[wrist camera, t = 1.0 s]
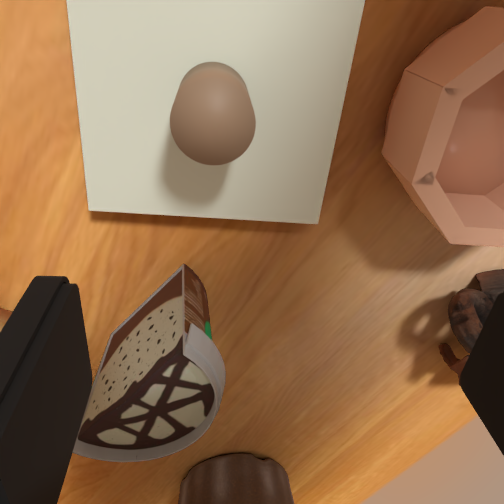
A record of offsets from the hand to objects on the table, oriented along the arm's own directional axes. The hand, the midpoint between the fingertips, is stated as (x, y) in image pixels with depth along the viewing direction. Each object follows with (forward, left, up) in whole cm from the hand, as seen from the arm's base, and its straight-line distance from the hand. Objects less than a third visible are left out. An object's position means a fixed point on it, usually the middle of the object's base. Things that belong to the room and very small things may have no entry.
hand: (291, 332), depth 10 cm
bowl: (-1, +15, -20) cm, 25 cm away
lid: (-1, -2, -19) cm, 19 cm away
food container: (+17, -4, -20) cm, 27 cm away
